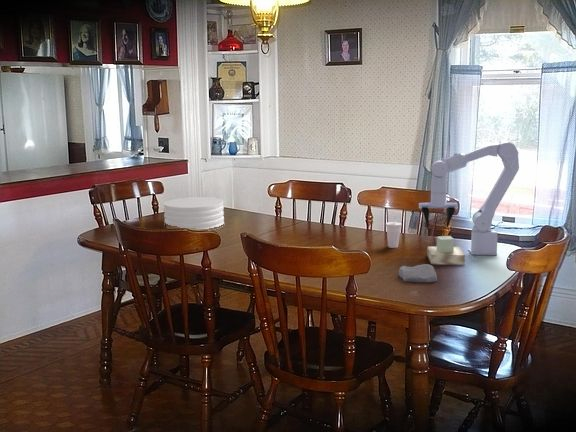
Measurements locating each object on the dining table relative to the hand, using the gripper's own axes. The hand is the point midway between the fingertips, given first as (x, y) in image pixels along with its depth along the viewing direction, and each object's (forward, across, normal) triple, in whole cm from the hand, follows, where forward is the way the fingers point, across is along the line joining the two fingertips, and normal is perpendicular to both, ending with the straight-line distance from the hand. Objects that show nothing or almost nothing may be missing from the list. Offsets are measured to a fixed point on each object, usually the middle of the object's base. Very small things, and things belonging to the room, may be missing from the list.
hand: (437, 226), depth 253 cm
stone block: (+10, +11, +36) cm, 40 cm away
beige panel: (+10, -1, +13) cm, 16 cm away
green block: (+6, -1, +13) cm, 14 cm away
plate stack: (+10, +107, -47) cm, 117 cm away
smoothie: (+10, +16, -7) cm, 20 cm away
